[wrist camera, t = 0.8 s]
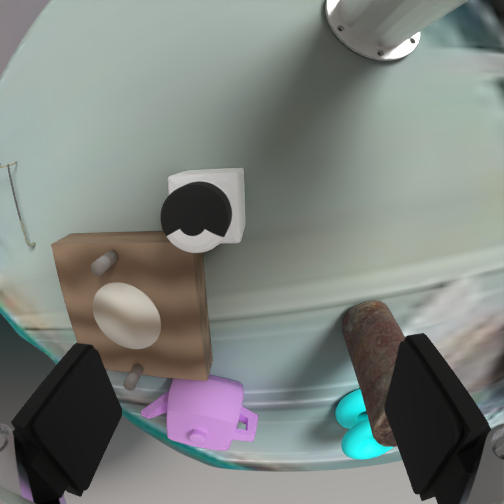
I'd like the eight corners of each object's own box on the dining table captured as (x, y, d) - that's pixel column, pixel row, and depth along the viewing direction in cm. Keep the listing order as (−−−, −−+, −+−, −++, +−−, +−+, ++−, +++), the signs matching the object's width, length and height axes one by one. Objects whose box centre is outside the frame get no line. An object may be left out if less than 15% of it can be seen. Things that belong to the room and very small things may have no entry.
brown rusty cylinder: (340, 345, 43) (371, 455, 24) (336, 302, 40) (376, 413, 22) (388, 334, 42) (439, 434, 23) (388, 291, 40) (454, 389, 21)
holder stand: (70, 233, 39) (32, 255, 30) (201, 230, 38) (181, 256, 29) (98, 348, 46) (74, 382, 37) (212, 359, 45) (201, 402, 36)
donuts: (332, 462, 39) (359, 426, 36) (326, 419, 48) (347, 381, 45) (385, 461, 39) (415, 426, 36) (373, 421, 49) (397, 385, 45)
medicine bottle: (185, 170, 36) (148, 181, 24) (244, 167, 35) (232, 177, 24) (188, 227, 38) (156, 262, 27) (246, 226, 38) (236, 261, 26)
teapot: (155, 401, 49) (138, 442, 40) (153, 359, 46) (132, 403, 36) (252, 421, 49) (249, 466, 40) (264, 381, 46) (263, 430, 36)
